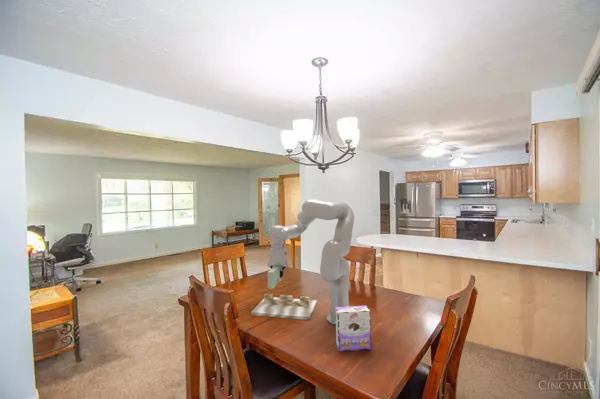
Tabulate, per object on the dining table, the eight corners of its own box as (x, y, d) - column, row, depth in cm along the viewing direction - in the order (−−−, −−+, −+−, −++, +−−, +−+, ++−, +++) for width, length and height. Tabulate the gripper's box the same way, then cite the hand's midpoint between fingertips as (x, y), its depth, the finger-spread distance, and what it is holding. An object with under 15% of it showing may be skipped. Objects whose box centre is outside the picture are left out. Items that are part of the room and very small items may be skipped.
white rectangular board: (316, 302, 162) (316, 291, 162) (309, 320, 140) (309, 307, 140) (265, 299, 169) (265, 288, 169) (251, 314, 148) (250, 303, 148)
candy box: (367, 342, 119) (366, 304, 118) (371, 350, 113) (371, 310, 112) (335, 343, 118) (335, 306, 118) (338, 351, 112) (337, 312, 112)
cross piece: (277, 278, 166) (276, 264, 166) (281, 279, 165) (281, 264, 165) (267, 288, 151) (267, 272, 150) (273, 288, 150) (272, 272, 149)
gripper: (292, 245, 164) (293, 275, 165) (266, 244, 168) (267, 274, 169) (289, 248, 157) (289, 280, 158) (262, 247, 161) (262, 278, 162)
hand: (278, 276), depth 163 cm, fingers closed on cross piece, 3 cm apart
